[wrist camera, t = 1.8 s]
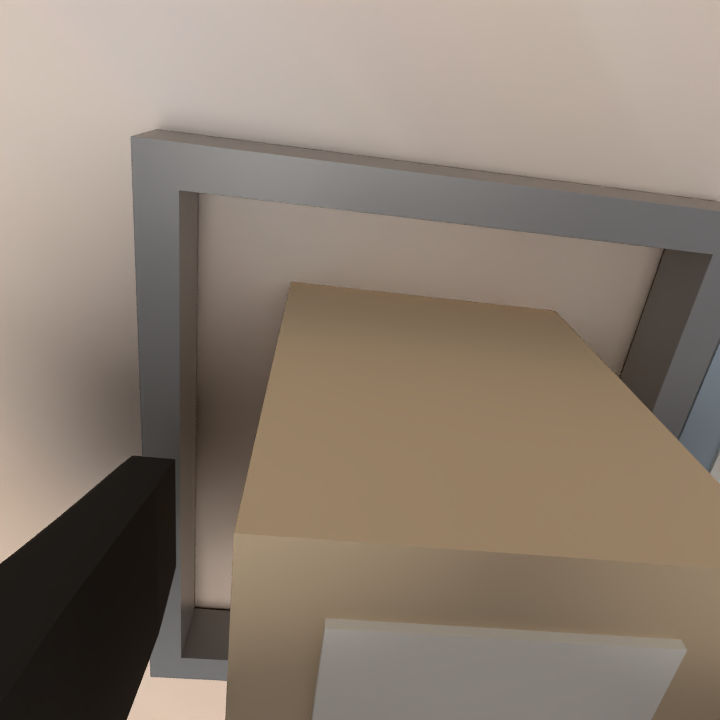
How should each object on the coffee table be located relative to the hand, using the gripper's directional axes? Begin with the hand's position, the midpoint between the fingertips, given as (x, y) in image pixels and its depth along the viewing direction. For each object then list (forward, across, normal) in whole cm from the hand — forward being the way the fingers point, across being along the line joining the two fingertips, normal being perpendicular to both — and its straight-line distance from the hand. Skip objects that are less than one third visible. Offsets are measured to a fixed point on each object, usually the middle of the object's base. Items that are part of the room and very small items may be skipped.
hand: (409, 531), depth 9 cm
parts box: (+2, 0, 0) cm, 2 cm away
